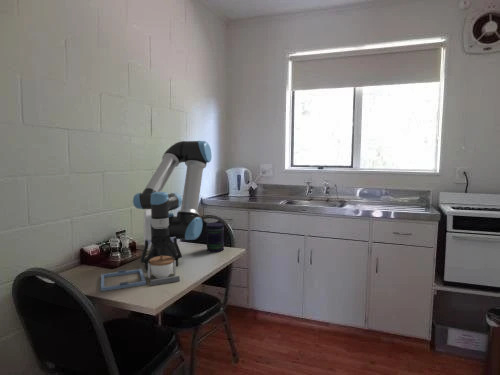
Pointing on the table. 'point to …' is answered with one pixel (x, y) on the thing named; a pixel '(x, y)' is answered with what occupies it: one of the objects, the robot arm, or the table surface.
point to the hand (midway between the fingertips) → (162, 275)
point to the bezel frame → (122, 284)
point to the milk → (147, 226)
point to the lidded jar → (161, 266)
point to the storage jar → (215, 237)
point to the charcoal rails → (164, 280)
